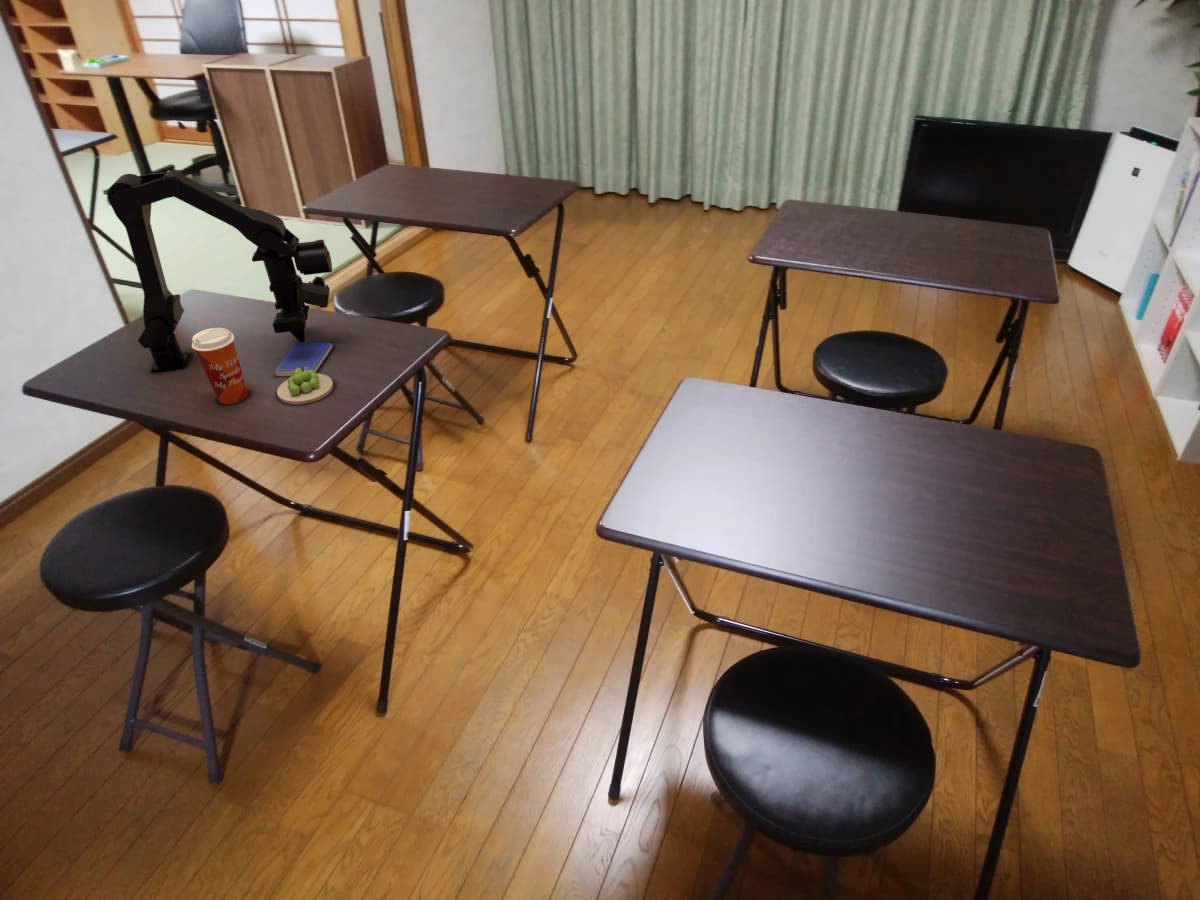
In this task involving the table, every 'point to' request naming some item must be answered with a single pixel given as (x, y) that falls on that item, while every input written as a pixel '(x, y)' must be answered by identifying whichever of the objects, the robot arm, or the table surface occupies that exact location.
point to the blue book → (304, 357)
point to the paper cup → (221, 364)
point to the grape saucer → (306, 397)
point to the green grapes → (302, 381)
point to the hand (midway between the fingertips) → (302, 341)
